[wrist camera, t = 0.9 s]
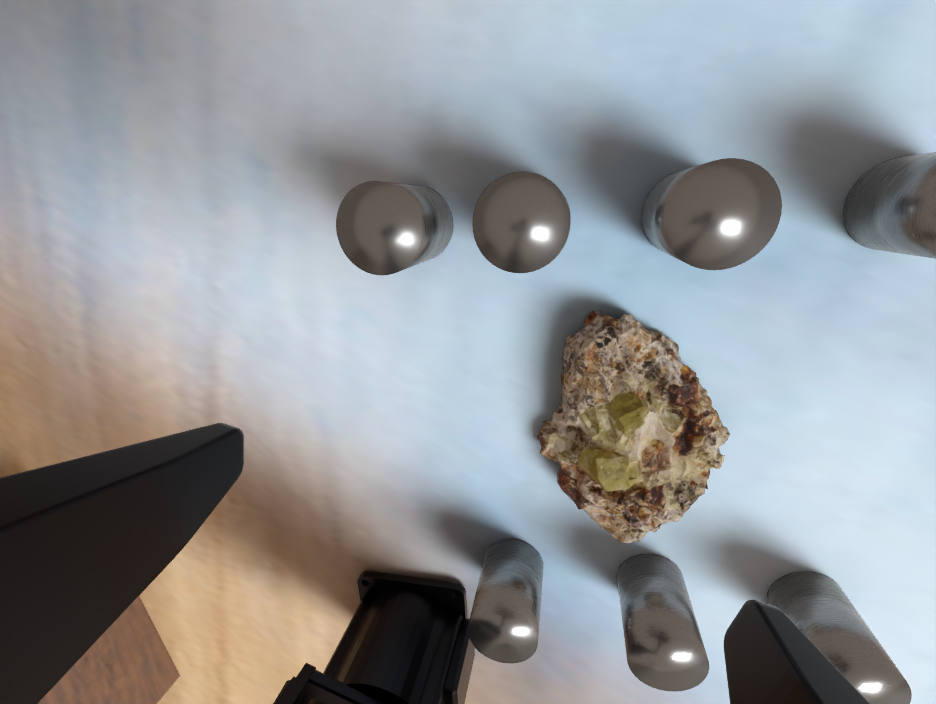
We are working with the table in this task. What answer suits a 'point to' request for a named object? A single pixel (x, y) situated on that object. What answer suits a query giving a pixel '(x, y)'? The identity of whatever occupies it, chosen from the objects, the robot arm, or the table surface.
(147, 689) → the tissue box cover
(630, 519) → the mineral rock
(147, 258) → the table surface
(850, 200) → the spacer posts
